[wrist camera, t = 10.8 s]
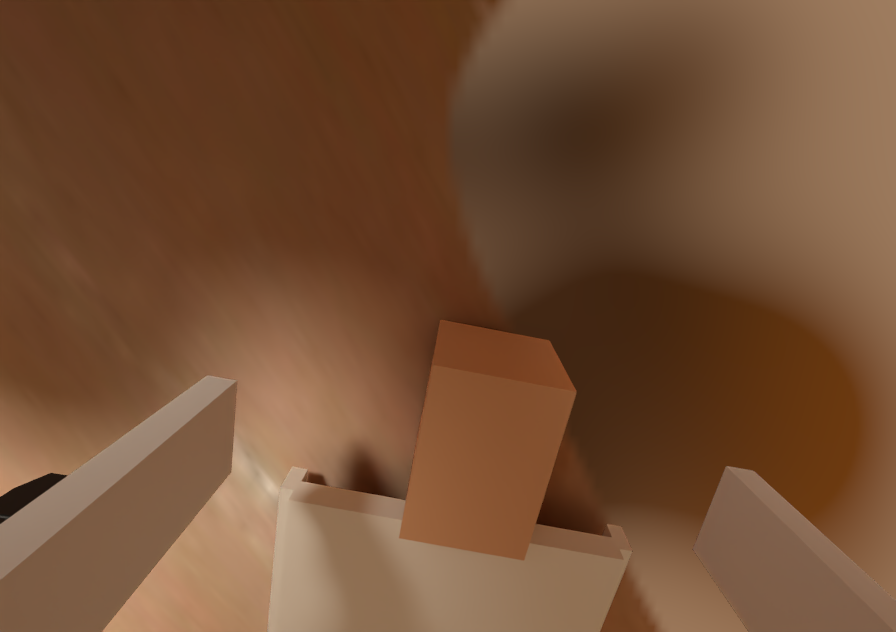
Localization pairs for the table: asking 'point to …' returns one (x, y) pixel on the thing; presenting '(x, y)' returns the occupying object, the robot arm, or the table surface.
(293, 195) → the table surface
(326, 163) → the table surface
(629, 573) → the table surface
